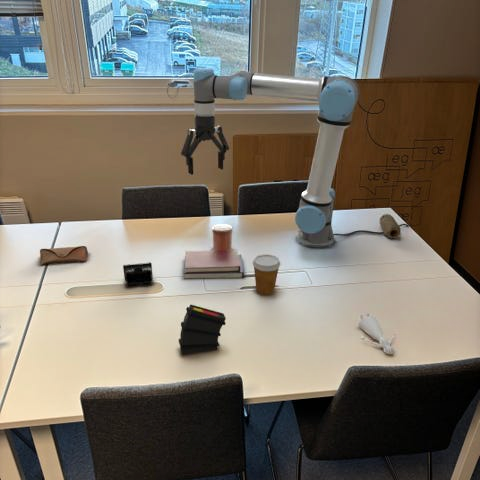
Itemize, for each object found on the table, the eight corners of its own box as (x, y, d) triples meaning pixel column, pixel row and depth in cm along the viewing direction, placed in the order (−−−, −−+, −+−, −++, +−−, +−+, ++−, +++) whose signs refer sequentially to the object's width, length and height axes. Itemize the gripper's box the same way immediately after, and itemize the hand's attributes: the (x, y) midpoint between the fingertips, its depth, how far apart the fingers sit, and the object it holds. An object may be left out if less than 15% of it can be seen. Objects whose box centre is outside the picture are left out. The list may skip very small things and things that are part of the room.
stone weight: (375, 226, 228) (377, 212, 225) (390, 226, 229) (392, 212, 225) (386, 240, 216) (388, 225, 212) (402, 239, 216) (405, 225, 213)
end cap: (152, 275, 186) (150, 259, 182) (154, 285, 180) (152, 268, 176) (124, 278, 184) (122, 262, 180) (125, 288, 178) (123, 271, 174)
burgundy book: (236, 255, 196) (236, 249, 195) (240, 271, 185) (240, 266, 183) (185, 256, 195) (185, 251, 193) (185, 273, 183) (185, 267, 182)
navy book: (241, 260, 198) (241, 254, 197) (243, 278, 186) (243, 272, 184) (185, 261, 197) (184, 255, 195) (183, 279, 184) (183, 273, 183)
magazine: (168, 345, 146) (188, 303, 141) (208, 355, 152) (229, 314, 146) (170, 353, 143) (191, 310, 138) (211, 362, 149) (232, 321, 143)
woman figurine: (382, 309, 160) (411, 344, 146) (379, 320, 162) (407, 356, 148) (348, 313, 157) (374, 349, 143) (346, 324, 160) (371, 361, 146)
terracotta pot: (231, 246, 208) (231, 223, 203) (232, 255, 202) (232, 231, 196) (212, 246, 208) (212, 223, 202) (212, 255, 201) (212, 231, 195)
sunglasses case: (38, 265, 190) (36, 247, 190) (41, 266, 197) (39, 249, 197) (87, 261, 194) (85, 243, 194) (89, 262, 201) (87, 245, 201)
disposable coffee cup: (278, 284, 181) (280, 254, 175) (278, 298, 174) (280, 267, 167) (252, 283, 182) (253, 253, 176) (250, 296, 174) (251, 265, 168)
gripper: (227, 109, 196) (227, 164, 208) (170, 115, 185) (173, 173, 196) (238, 112, 191) (237, 168, 203) (179, 119, 179) (182, 178, 191)
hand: (206, 171), depth 199 cm, fingers open, 13 cm apart
